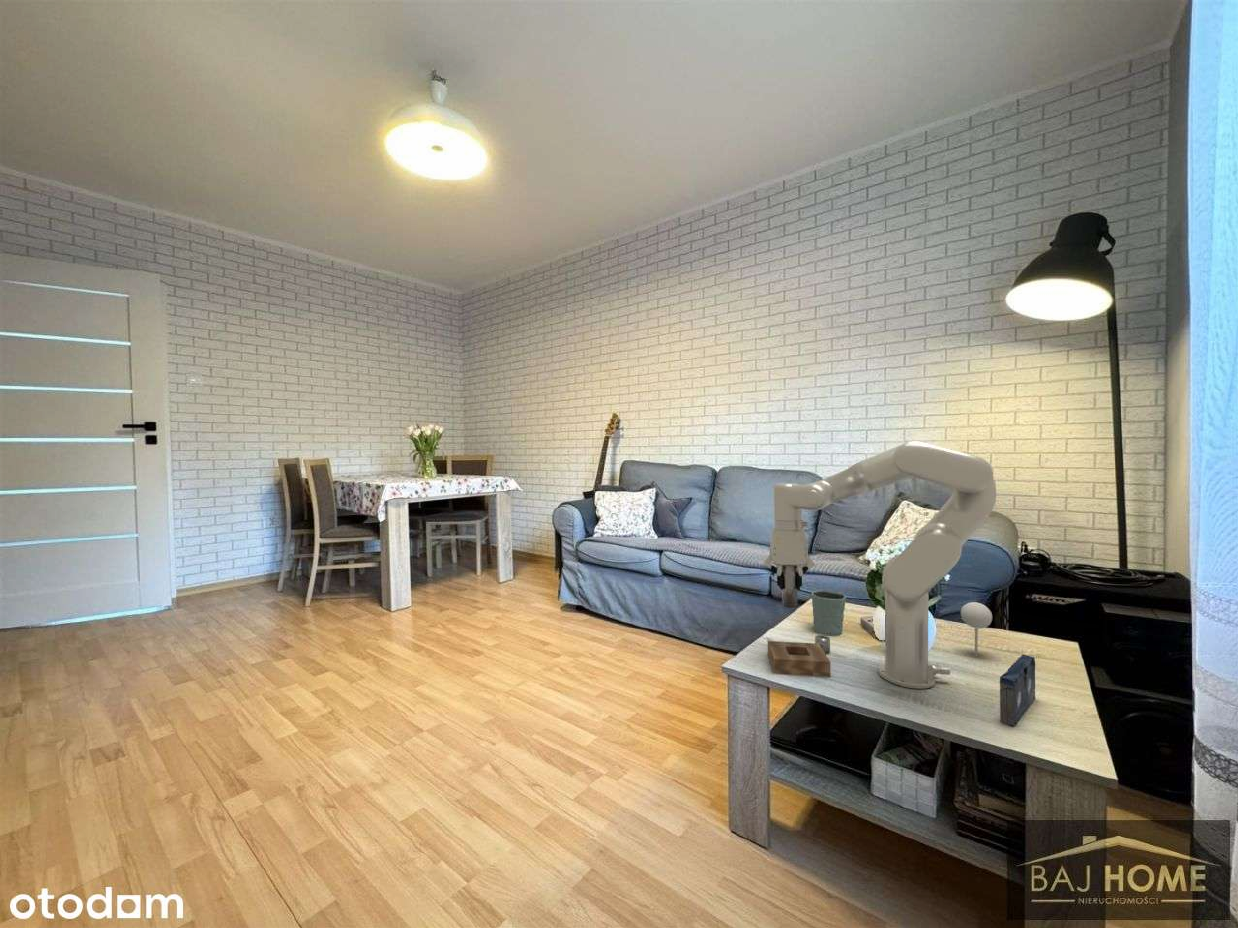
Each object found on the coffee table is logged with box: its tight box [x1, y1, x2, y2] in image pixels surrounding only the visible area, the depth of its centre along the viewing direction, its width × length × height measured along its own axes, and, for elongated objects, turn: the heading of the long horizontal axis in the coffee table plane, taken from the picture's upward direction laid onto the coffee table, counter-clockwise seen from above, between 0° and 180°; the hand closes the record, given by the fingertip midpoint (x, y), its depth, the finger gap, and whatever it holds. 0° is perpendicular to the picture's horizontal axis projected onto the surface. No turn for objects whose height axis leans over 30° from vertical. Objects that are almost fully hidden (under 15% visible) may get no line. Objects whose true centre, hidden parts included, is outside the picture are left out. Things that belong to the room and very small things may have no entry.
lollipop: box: [960, 601, 993, 657], centre depth 134 cm, size 7×7×15 cm
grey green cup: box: [811, 589, 847, 637], centre depth 154 cm, size 10×10×12 cm
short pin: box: [814, 634, 831, 655], centre depth 139 cm, size 4×4×4 cm
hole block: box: [767, 640, 832, 678], centre depth 130 cm, size 14×12×4 cm
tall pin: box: [781, 565, 798, 609], centre depth 138 cm, size 4×4×12 cm
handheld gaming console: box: [859, 615, 876, 638], centre depth 152 cm, size 9×4×15 cm
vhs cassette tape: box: [999, 654, 1036, 728], centre depth 106 cm, size 18×3×10 cm, turn 127°
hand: (789, 588), depth 137 cm, fingers closed on tall pin, 4 cm apart
